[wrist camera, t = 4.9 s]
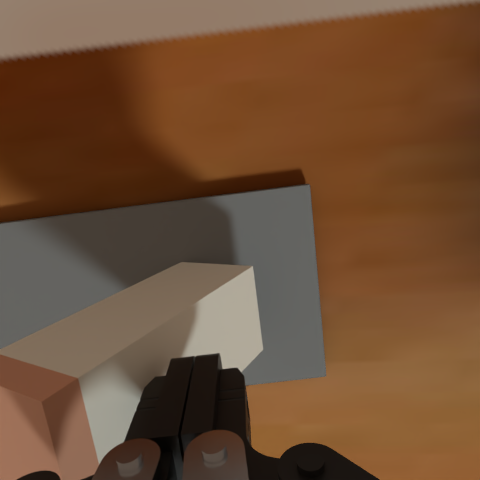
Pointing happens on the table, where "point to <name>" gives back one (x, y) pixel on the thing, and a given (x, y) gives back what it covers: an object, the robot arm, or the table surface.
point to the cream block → (116, 364)
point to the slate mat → (167, 255)
